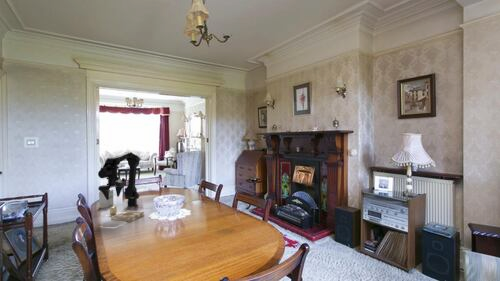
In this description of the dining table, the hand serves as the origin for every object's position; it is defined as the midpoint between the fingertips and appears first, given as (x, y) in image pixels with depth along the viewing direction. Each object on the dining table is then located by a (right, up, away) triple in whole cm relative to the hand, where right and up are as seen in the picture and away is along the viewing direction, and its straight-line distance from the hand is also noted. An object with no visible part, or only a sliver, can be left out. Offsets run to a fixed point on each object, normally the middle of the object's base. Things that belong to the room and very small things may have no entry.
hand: (113, 198), depth 171 cm
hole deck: (+13, -12, -5) cm, 19 cm away
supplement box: (-18, -12, +23) cm, 31 cm away
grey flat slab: (0, -12, 0) cm, 12 cm away
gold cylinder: (0, -11, 0) cm, 11 cm away
